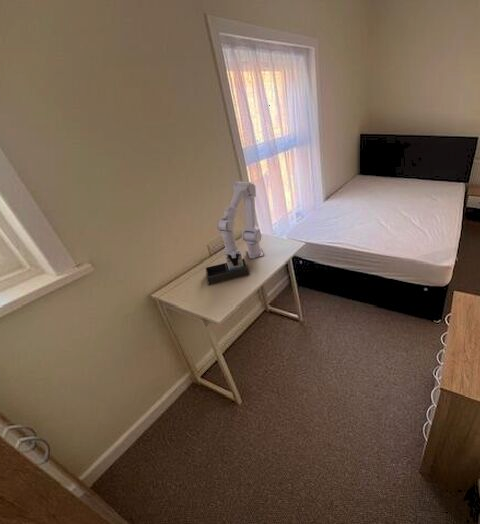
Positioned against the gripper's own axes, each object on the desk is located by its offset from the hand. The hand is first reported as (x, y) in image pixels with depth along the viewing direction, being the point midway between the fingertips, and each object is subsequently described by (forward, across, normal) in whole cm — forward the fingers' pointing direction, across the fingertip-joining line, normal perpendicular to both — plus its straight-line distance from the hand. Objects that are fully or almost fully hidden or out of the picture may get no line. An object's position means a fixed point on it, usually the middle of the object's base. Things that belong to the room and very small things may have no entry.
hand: (235, 263), depth 153 cm
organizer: (+6, 0, -5) cm, 8 cm away
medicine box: (+3, 0, 0) cm, 3 cm away
